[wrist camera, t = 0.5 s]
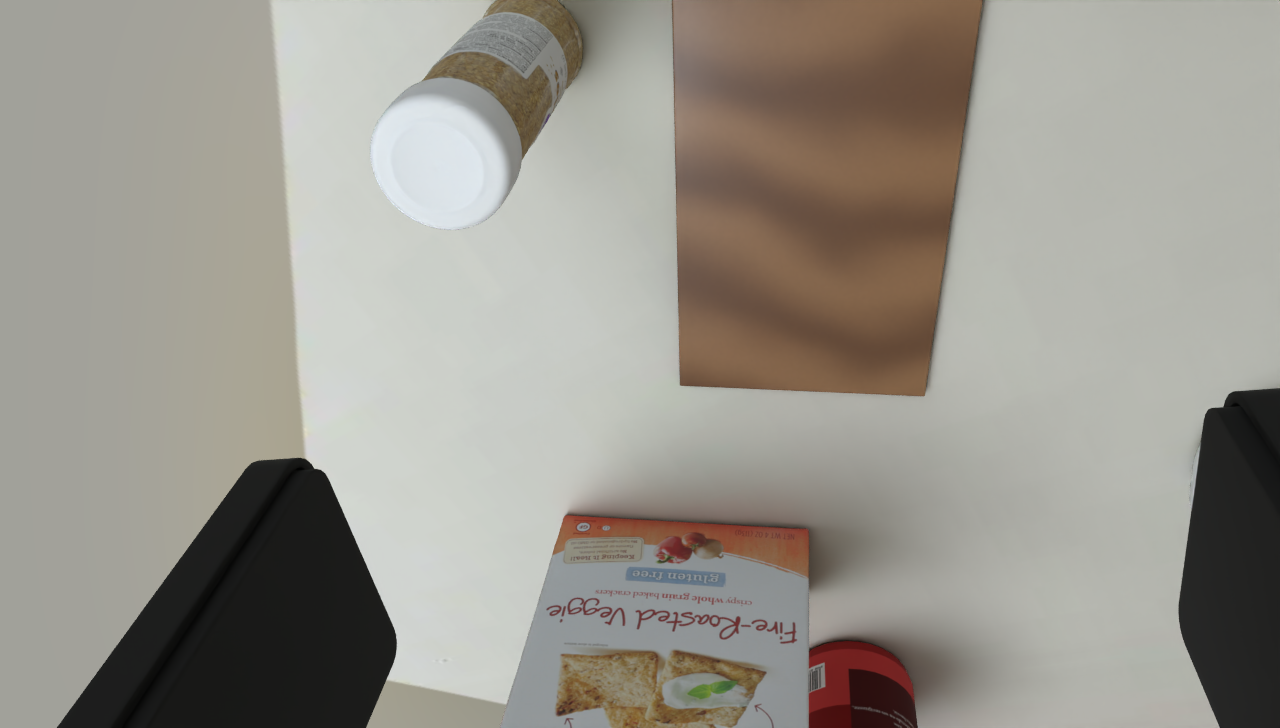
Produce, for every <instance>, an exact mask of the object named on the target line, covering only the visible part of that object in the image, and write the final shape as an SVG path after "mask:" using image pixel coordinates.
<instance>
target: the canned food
mask: <svg viewBox="0 0 1280 728" xmlns="http://www.w3.org/2000/svg"><path fill="white" fill-rule="evenodd" d="M809 728H918V726H917V718H916V710H915V701H914V693H913V685H912V682H911V680H910V678H909V675H908V673H907V671H906V669H905V667H904V666H903V664H902V663H901V662H900V661H899V659H897V658H896V657H895V656H894V655H893V654H891V653H890V652H888V651H886V650H884V649H883V648H880V647H878V646H875V645H872V644H868V643H863V642H855V641H841V642H833V643H828V644H824V645H821V646H818V647H816V648H813V649H812V650H810V651H809Z"/></svg>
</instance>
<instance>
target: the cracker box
mask: <svg viewBox="0 0 1280 728" xmlns="http://www.w3.org/2000/svg"><path fill="white" fill-rule="evenodd" d="M500 728H809V530H808V529H806V528H805V529H797V528H777V527H759V526H740V525H725V524H709V523H691V522H674V521H655V520H639V519H620V518H605V517H588V516H573V515H566V516H565V517H564V518H563V522H562V525H561V529H560V532H559V535H558V539H557V541H556V544H555V547H554V551H553V554H552V557H551V561H550V564H549V568H548V571H547V575H546V578H545V581H544V584H543V588H542V591H541V594H540V597H539V601H538V604H537V608H536V611H535V614H534V617H533V620H532V624H531V627H530V630H529V633H528V637H527V640H526V643H525V646H524V650H523V653H522V656H521V660H520V663H519V666H518V670H517V673H516V676H515V679H514V682H513V686H512V689H511V692H510V695H509V699H508V702H507V705H506V708H505V712H504V715H503V718H502V722H501V725H500Z"/></svg>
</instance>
